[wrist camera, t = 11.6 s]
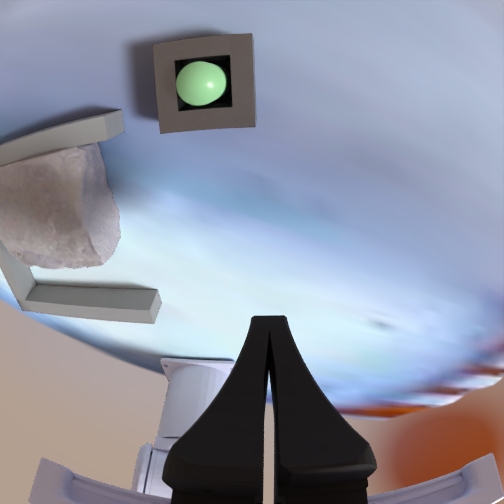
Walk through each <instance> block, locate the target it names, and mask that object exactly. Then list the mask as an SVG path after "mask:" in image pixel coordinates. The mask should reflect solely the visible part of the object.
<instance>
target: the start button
mask: <svg viewBox="0 0 504 504" xmlns="http://www.w3.org/2000/svg"><path fill="white" fill-rule="evenodd" d="M230 85H231V78H230V75H229V73H228V71H227V70H226V69H225V68H223V67H221V66H219V65H215V64H212V63H208V62H202V61H199V62H193V63H191V64H188V65H187V66H185V67H184V68H183V69H182V70H181V71H180V73H179V75H178V77H177V81H176V88H177V92H178V94H179V96H180V97H181V98H182V99H183V100H184V101H185V102H187V103H189V104H191V105H197V106H198V105H205V104H208V103H210V102H212V101H214V100H216V99H218V98H220V97H222V96H223V95H225V94H226V93H227V91H228V90H229V88H230Z"/></svg>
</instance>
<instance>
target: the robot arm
mask: <svg viewBox="0 0 504 504" xmlns="http://www.w3.org/2000/svg"><path fill="white" fill-rule="evenodd" d="M160 363H161V365H162V367H163V370H164V372H165V374H166V377H167V379H168V381H169V385H168V390H167V394H166V399H165V403H164V407H163V412H162V416H161V420H160V425H159V430H158V434H157V437H156V439H155V443H154V448H152V444H149V443H146V445H144V446H142V447H140V450H139V453H138V457H137V461H136V466H135V470H134V475H133V481H132V488H131V490H127V489H124V488H120V487H116V486H113V485H109V484H106V483H102V482H99V481H96V480H93V479H90V478H87V477H84V476H81V475H78V474H75V473H73V472H72V471H71V470H69V469H68V468H66V467H64V466H62V465H60V464H57V463H55V462H53V461H50V460H48V459H45V458H41V460H40V463H39V466H38V469H37V473H36V476H35V479H34V483H33V486H32V490H31V493H30V497H29V502H30V503H31V504H263V467H264V463H263V462H264V414H265V405H266V395H267V385H268V375H269V374H270V383H271V392H272V401H273V411H274V504H494V503H496V502H498V501H499V500H501V499H503V498H504V494H503V489H502V485H501V481H500V477H499V473H498V470H497V466H496V463H495V459H494V455H493V453H490V454H488V455H486V456H484V457H481V458H479V459H477V460H475V461H472V462H471V463H469V464H467V465H465V466H464V467H463V468H462V469H460V470H458V471H455V472H452V473H450V474H447V475H444V476H441V477H438V478H435V479H432V480H430V481H426V482H423V483H420V484H416V485H413V486H409V487H406V488H402V489H398V490H394V491H390V492H386V493H381V494H377V495H372V496H367V491H366V488H367V487H368V480H367V478H368V477H369V476H370V475H371V474H372V473H374V471H375V470H376V469H377V464H376V459H375V456H374V454H373V451H372V449H371V447H370V445H369V443H368V442H367V441H366V440H365V439H364V438H363V437H362V436H360V435H359V434H358V433H357V432H356V431H355V430H354V429H353V428H352V427H351V426H350V425H349V424H348V422H347V421H346V420H345V419H344V418H343V417H342V416H341V415H340V413H339V412H338V411H337V410H336V409H335V407H334V406H333V405H332V404H331V403H330V401H329V400H328V399H327V397H326V396H325V395H324V393H323V392H322V390H321V389H320V387H319V386H318V385H317V383H316V381H315V380H314V378H313V377H312V375H311V373H310V372H309V370H308V368H307V366H306V364H305V363H304V361H303V359H302V357H301V355H300V352H299V350H298V348H297V346H296V344H295V342H294V339H293V337H292V334H291V331H290V328H289V325H288V321H287V317H285V316H284V315H281V316H253V317H252V318H251V323H250V328H249V331H248V334H247V337H246V340H245V343H244V345H243V347H242V350H241V352H240V354H239V357H238V359H237V361H236V362H234V361H214V360H191V359H175V358H161V361H160Z"/></svg>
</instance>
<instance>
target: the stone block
mask: <svg viewBox="0 0 504 504" xmlns="http://www.w3.org/2000/svg"><path fill="white" fill-rule="evenodd" d="M119 220H120V216H119V210H118V208H117V206H116V203H115V201H114V198H113V193H112V191H111V190H110V188H109V186H108V182H107V173H106V168H105V164H104V161H103V158H102V155H101V151H100V146H99V144H98V142H95V143H90V144H85V145H80V146H75V147H71V148H66V149H61V150H57V151H53V152H49V153H45V154H41V155H37V156H34V157H30V158H26V159H23V160H19V161H16V162H12V163H9V164H6V165H3V166H0V240H1V241H2V243H3V244H4V246H5V247H6V248H7V250H8V252H9V253H10V254H11V255H12V256H14V257H16V259H17V260H18V261H19V262H21V263H23V264H24V265H25V266H28V267H30V266H34V265H35V266H39V267H41V268H47V269H59V268H65V267H67V268H73V269H75V268H82V267H84V266H86V267H87V268H88V267H93V266H101V265H103V264H104V263H105V262H107V260H109V258H110V257H111V256H112V255H113V252H114V251H115V248H116V247H117V244H118V241H119V239H120V238H121V236H120V234H121V231H120V224H119Z"/></svg>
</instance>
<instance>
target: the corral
mask: <svg viewBox="0 0 504 504" xmlns="http://www.w3.org/2000/svg"><path fill="white" fill-rule="evenodd" d="M123 132H125V130H124V122H123V115H122V110H118V111H113V112H108V113H103V114H99V115H95V116H90V117H86V118H82V119H78V120H74V121H70V122H67V123H63V124H59V125H56V126H52V127H49V128H46V129H42V130H39V131H36V132H33V133H30V134H27V135H24V136H21V137H18V138H15V139H13V140H10V141H7V142H5V143H2V144H0V166H3V165H6V164H9V163H12V162H16V161H19V160H23V159H26V158H30V157H34V156H37V155H41V154H45V153H49V152H53V151H57V150H61V149H66V148H71V147H75V146H80V145H85V144H90V143H95V142H100V141H106V140H109V139H111V138H113V137H115V136H117V135H119V134H121V133H123ZM0 268H1V270H2V272H3V274H4V276H5V278H6V280H7V282H8V284H9V286H10V288H11V290H12V292H13V294H14V296H15V298H16V300H17V302H18V303H19V305H20V307H21V309H22V311H29V312H36V313H43V314H51V315H59V316H67V317H76V318H86V319H96V320H107V321H119V322H132V323H147V324H154V323H155V320H156V318H157V315H158V312H159V309H160V307H161V304H162V302H161V299H160V295H159V292H158V290H144V289H113V288H89V287H68V286H51V285H37V283H36V281H35V279H34V277H33V275H32V272H31V270H30V268H29V267H28V266H25V265H24V264H23V263H21V262H19V261H18V260H17V259H16V257H14V256H12V255H11V254H10V253H9V252H8V250H7V248H6V247H5V246H4V244H3V243H2V241H1V240H0Z"/></svg>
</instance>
